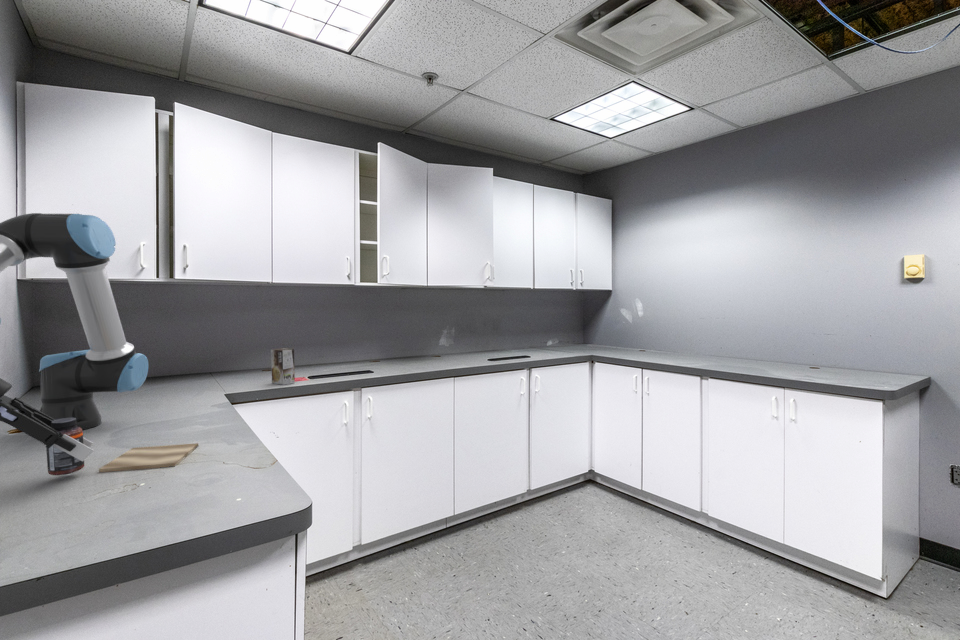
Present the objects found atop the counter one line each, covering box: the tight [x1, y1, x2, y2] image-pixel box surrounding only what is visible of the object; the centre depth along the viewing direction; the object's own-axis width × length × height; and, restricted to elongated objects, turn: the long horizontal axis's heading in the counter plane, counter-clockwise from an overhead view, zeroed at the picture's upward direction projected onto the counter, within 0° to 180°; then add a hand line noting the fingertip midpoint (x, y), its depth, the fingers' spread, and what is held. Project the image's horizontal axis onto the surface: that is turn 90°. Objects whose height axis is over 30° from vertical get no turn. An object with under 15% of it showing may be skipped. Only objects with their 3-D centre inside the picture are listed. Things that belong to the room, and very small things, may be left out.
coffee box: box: [270, 347, 296, 385], centre depth 211 cm, size 9×6×16 cm
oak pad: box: [98, 442, 199, 473], centre depth 110 cm, size 15×15×1 cm
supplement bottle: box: [45, 418, 85, 476], centre depth 98 cm, size 6×6×11 cm
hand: (87, 451), depth 100 cm, fingers closed on supplement bottle, 6 cm apart
